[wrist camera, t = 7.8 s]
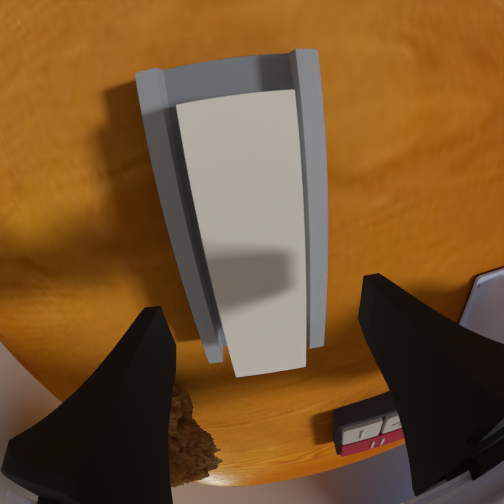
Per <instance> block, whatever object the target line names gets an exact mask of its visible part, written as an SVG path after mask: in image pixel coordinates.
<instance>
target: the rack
mask: <svg viewBox="0 0 504 504" xmlns="http://www.w3.org/2000/svg"><path fill="white" fill-rule="evenodd" d="M135 78H136V84H137V90H138V96H139V102H140V108H141V114H142V119H143V124H144V130H145V135H146V140H147V145H148V149H149V154H150V159H151V164H152V168H153V173H154V177H155V181H156V186H157V190H158V194H159V198H160V202H161V206H162V210H163V214H164V218H165V222H166V226H167V230H168V233H169V237H170V241H171V245H172V248H173V252H174V255H175V259H176V262H177V266H178V269H179V273H180V276H181V279H182V283H183V286H184V289H185V293H186V296H187V299H188V302H189V305H190V308H191V312H192V315H193V318H194V321H195V324H196V327H197V330H198V333H199V336H200V339H201V342H202V344H203V347H204V350H205V353H206V356H207V359H208V361H209V363H218V362H223V346H227V342H226V338H225V334H224V330H223V327H222V323H221V319H220V315H219V311H218V307H217V303H216V299H215V295H214V290H213V286H212V282H211V278H210V274H209V269H208V265H207V261H206V256H205V252H204V247H203V243H202V238H201V234H200V229H199V225H198V220H197V215H196V210H195V205H194V201H193V196H192V191H191V186H190V181H189V175H188V170H187V165H186V160H185V154H184V149H183V143H182V138H181V132H180V126H179V120H178V114H177V108H176V105H178V104H183V103H188V102H193V101H199V100H205V99H211V98H217V97H224V96H231V95H239V94H247V93H256V92H267V91H279V90H294V89H295V97H296V107H297V117H298V129H299V141H300V154H301V168H302V184H303V203H304V225H305V254H306V338H307V341H308V345H309V348H310V349H312V348H317V347H322V346H324V335H325V319H326V299H327V271H328V186H327V158H326V139H325V123H324V109H323V97H322V86H321V76H320V67H319V58H318V50H317V49H295V50H293V51H291V52H290V53H284V54H267V55H255V56H244V57H236V58H228V59H220V60H214V61H207V62H201V63H196V64H190V65H185V66H180V67H175V68H171V69H166V70H161V69H159V68H153V69H149V70H145V71H142V72H138V73H135Z"/></svg>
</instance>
